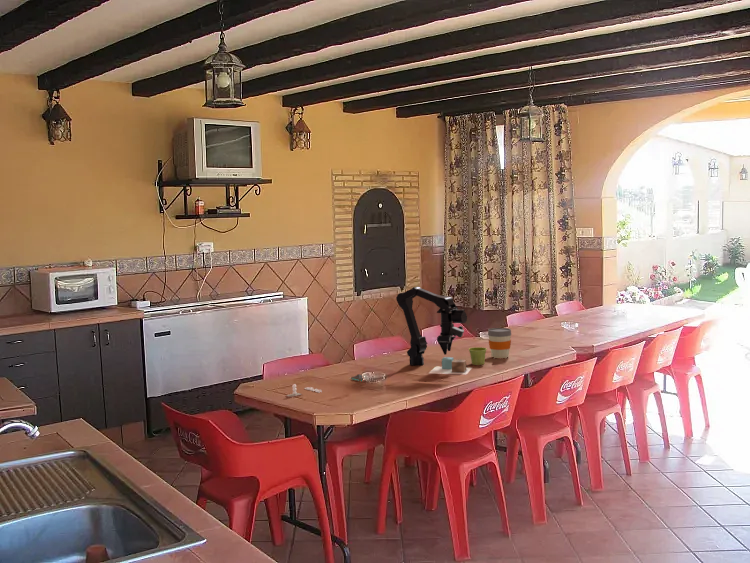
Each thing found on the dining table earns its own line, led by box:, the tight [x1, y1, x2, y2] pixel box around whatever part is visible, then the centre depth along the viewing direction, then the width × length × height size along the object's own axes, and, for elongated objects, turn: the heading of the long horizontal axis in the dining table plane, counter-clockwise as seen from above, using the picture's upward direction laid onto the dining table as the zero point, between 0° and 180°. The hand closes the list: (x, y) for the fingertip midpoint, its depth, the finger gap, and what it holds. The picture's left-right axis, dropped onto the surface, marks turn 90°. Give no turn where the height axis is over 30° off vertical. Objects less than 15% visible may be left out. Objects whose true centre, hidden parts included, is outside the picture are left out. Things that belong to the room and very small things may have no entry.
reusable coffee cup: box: [487, 327, 512, 359], centre depth 412 cm, size 13×13×15 cm
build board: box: [428, 365, 473, 376], centre depth 379 cm, size 19×16×1 cm
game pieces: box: [285, 373, 363, 399], centre depth 357 cm, size 45×13×6 cm, turn 132°
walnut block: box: [452, 359, 467, 372], centre depth 377 cm, size 6×6×5 cm
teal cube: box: [441, 356, 455, 369], centre depth 385 cm, size 5×5×5 cm
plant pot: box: [467, 346, 488, 366], centre depth 393 cm, size 9×9×9 cm
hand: (447, 352), depth 384 cm, fingers open, 9 cm apart
